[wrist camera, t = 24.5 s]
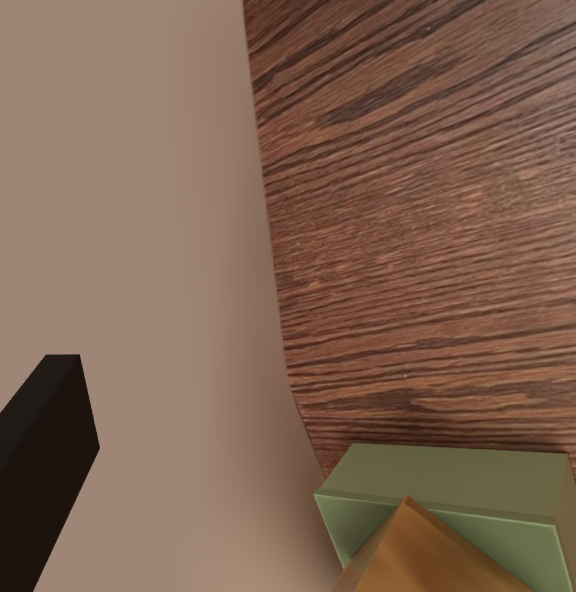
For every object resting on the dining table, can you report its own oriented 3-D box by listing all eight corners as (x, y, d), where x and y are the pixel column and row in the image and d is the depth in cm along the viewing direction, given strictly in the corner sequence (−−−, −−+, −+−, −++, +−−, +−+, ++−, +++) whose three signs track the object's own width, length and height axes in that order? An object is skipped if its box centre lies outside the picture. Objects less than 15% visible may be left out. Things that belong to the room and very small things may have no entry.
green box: (351, 441, 40) (312, 494, 35) (569, 451, 30) (555, 525, 26) (408, 593, 43) (379, 658, 39) (619, 645, 34) (614, 739, 29)
